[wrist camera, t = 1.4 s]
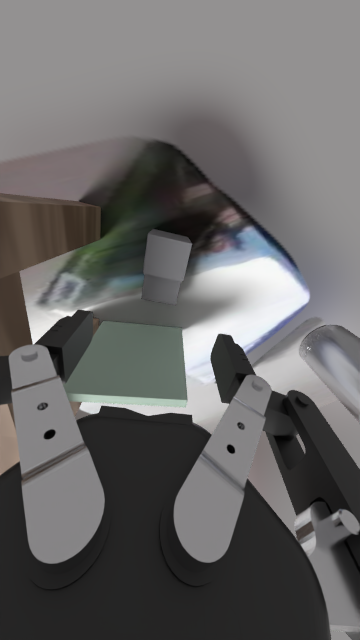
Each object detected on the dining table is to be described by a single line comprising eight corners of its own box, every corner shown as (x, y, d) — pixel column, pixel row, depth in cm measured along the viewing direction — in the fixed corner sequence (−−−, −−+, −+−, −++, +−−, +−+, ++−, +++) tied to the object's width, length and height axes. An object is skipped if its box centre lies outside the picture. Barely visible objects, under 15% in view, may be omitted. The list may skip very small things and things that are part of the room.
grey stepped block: (188, 237, 28) (192, 243, 22) (175, 295, 32) (175, 313, 26) (153, 228, 27) (147, 233, 21) (144, 289, 31) (138, 306, 25)
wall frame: (100, 207, 25) (-59, 198, 8) (97, 368, 39) (37, 496, 21) (76, 201, 25) (-149, 178, 7) (82, 366, 38) (7, 495, 21)
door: (179, 339, 35) (184, 414, 22) (103, 332, 34) (61, 407, 21) (181, 327, 34) (187, 400, 21) (103, 320, 33) (57, 392, 20)
